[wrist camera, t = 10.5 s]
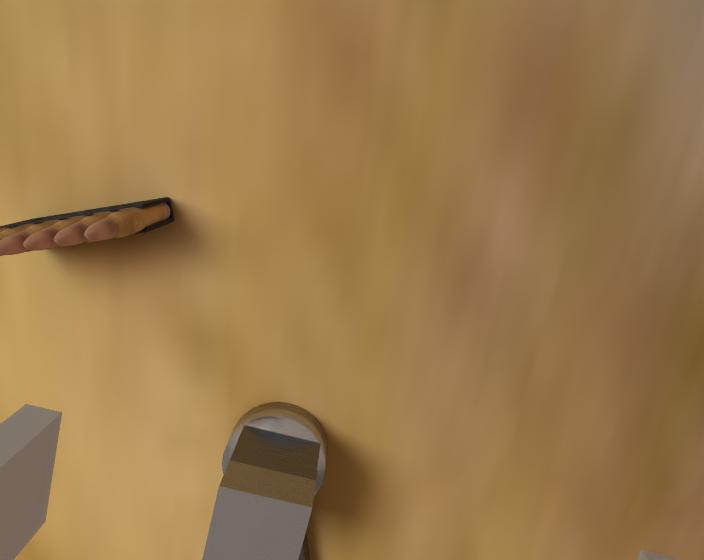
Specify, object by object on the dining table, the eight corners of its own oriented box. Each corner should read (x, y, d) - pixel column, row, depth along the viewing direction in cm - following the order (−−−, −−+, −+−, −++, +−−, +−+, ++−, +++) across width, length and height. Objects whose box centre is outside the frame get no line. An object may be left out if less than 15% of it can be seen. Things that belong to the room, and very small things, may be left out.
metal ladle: (224, 406, 46) (204, 444, 41) (321, 398, 46) (316, 434, 40) (257, 612, 51) (244, 672, 45) (346, 605, 51) (344, 665, 45)
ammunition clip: (169, 196, 43) (98, 216, 31) (175, 221, 43) (107, 249, 31) (31, 219, 43) (-90, 246, 31) (38, 242, 43) (-79, 278, 32)
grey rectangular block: (244, 424, 43) (219, 486, 36) (320, 443, 44) (312, 507, 36) (228, 492, 45) (201, 565, 37) (302, 509, 45) (291, 585, 37)
